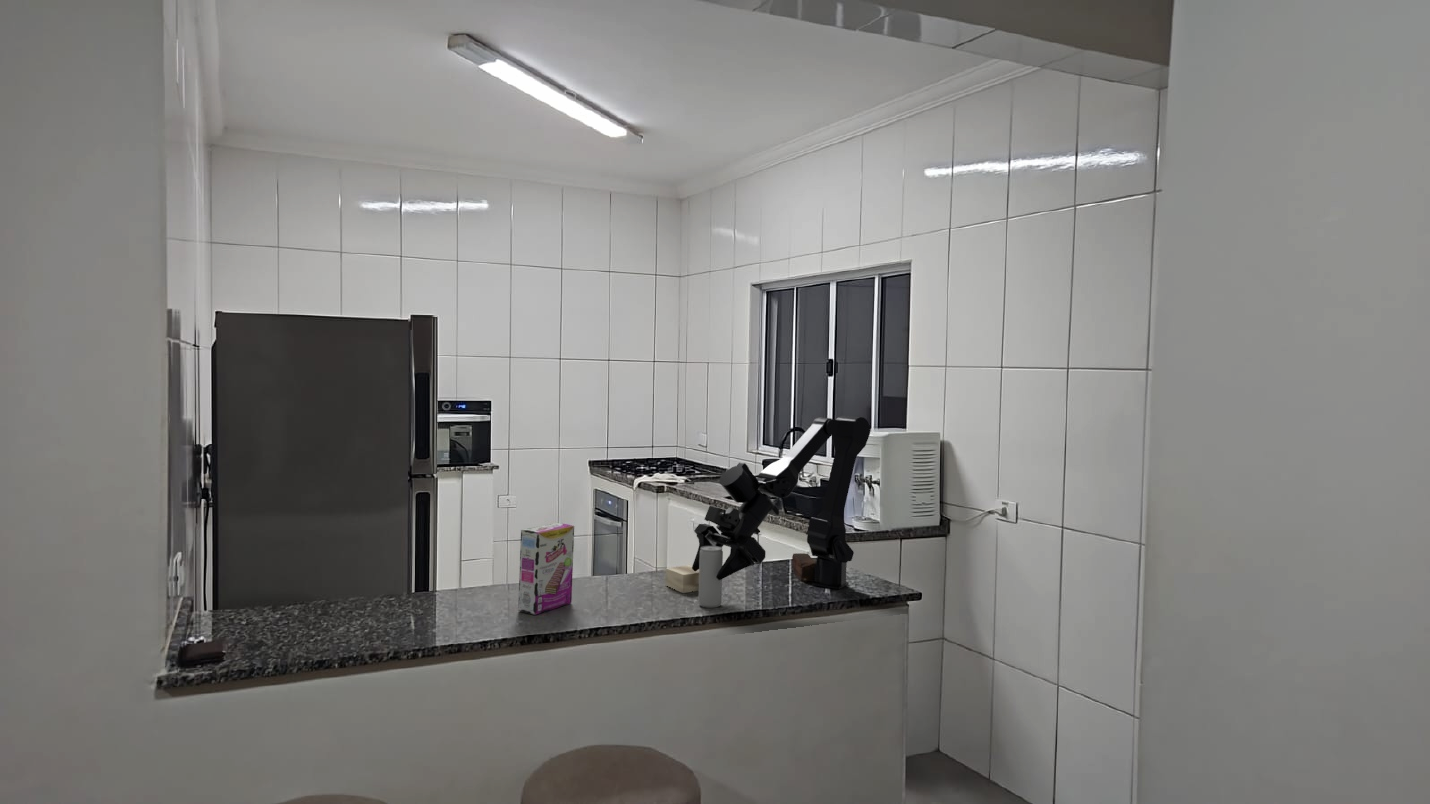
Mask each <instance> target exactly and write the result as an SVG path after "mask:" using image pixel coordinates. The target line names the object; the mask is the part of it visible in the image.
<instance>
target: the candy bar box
mask: <svg viewBox="0 0 1430 804" xmlns="http://www.w3.org/2000/svg"><path fill="white" fill-rule="evenodd" d="M574 541H575V525H571V524H565V523H559V522H556V523H550V524H545V525H541V526H536V527H529V528H524V529H520V548H519V549H520V551H519V553H520V554H519V575H518V576H519V577H518V579H519V581H518V582H519V583H518V605H517V606H518V609H517V610H518V611H519V612H521V613H525V614H528V615H529V614H530V615H532V616H533V615H534V616H536V615H539V614H541V613H545V612H548V611H551V610H555V609H557V608H561V607H564V606H567V605H569V604H572V600H573V596H572V595H573V573H574V572H573V571H574V570H573V569H574V568H573V565H574V546H575V543H574Z"/></svg>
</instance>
